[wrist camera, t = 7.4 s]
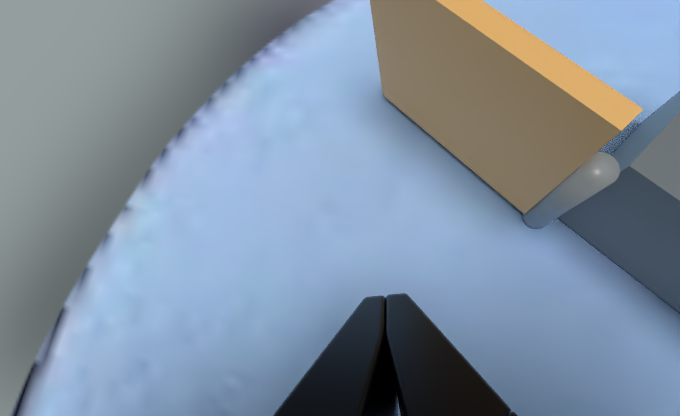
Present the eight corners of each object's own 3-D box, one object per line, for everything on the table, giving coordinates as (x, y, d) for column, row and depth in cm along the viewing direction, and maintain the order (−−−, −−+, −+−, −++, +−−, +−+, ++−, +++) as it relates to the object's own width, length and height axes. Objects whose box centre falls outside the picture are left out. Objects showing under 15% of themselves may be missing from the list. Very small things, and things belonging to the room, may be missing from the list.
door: (553, 216, 17) (685, 129, 9) (536, 233, 16) (653, 162, 8) (396, 87, 19) (384, -72, 11) (381, 101, 19) (358, -48, 11)
